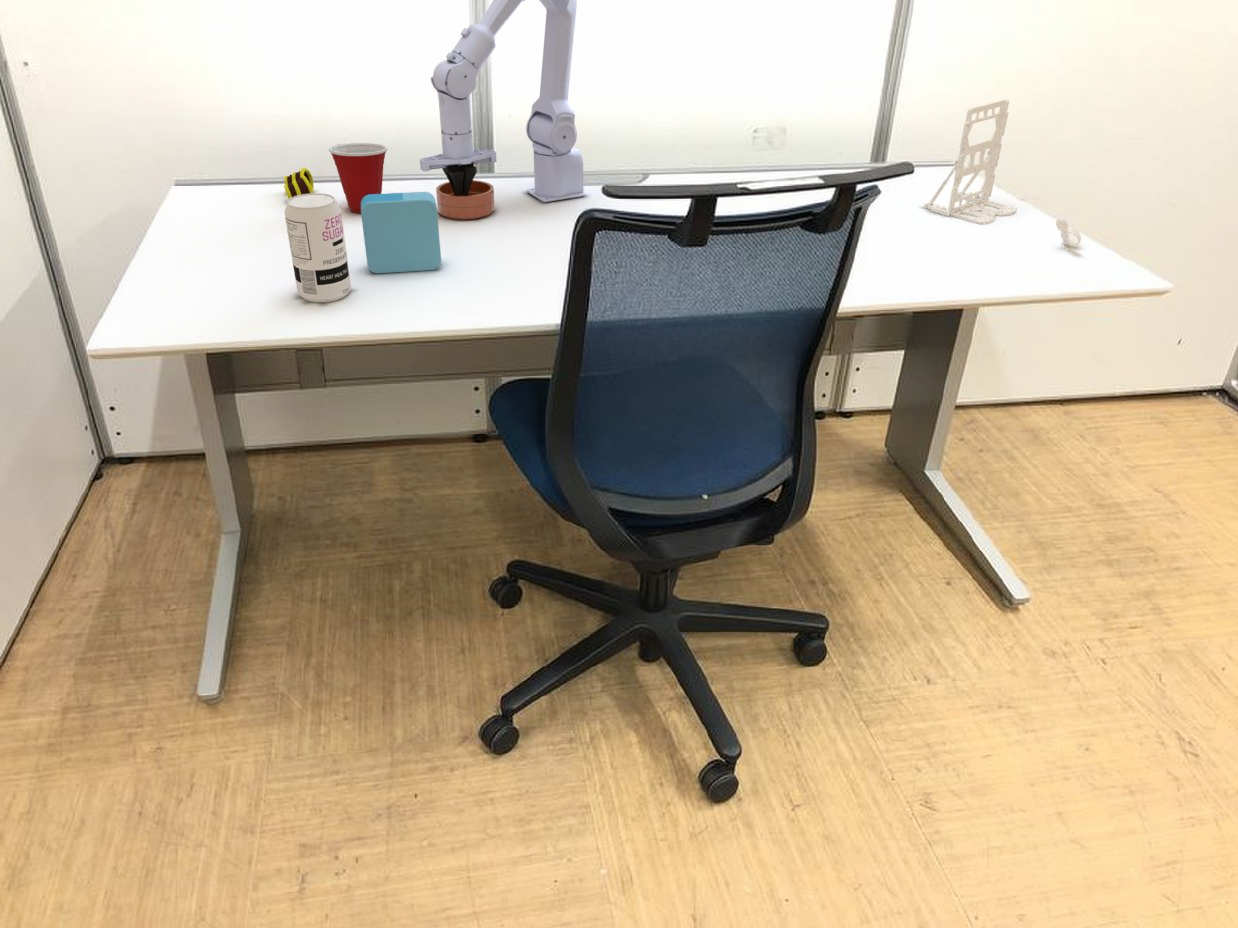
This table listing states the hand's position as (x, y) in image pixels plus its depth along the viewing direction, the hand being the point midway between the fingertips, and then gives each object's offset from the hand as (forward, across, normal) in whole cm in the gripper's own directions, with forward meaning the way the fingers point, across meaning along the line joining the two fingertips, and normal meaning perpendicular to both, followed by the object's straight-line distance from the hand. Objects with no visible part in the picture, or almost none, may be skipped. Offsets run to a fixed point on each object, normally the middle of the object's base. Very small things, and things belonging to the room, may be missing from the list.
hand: (461, 203), depth 193 cm
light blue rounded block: (+2, -19, -22) cm, 29 cm away
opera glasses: (+2, -24, +24) cm, 34 cm away
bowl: (+2, +1, 0) cm, 2 cm away
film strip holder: (+2, +90, -45) cm, 100 cm away
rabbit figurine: (+2, +88, -69) cm, 112 cm away
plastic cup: (+2, -16, +11) cm, 19 cm away
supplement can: (+2, -34, -27) cm, 44 cm away
